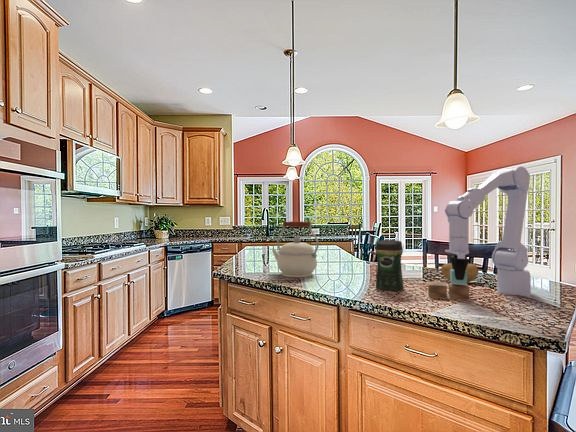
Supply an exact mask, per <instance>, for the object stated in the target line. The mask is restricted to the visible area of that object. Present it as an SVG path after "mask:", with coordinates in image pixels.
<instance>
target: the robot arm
mask: <svg viewBox="0 0 576 432" xmlns="http://www.w3.org/2000/svg"><path fill="white" fill-rule="evenodd" d="M530 179H531V175H530V173H529V171H528V170H527V169H526V167H524V166H517V167H510V168H505V169H503V168H502V169H496V170H494V171H493V172H491V173H490V175H489V177H488V178H487V179H485V181H484V182H483V183H481V184H480V185H479V186H478V187H470V188H467V190H466V192H465V193H464V194H462V195H460V196H458V197H457V199H456V200H451V201H449V202H448V204H447V205H446V206H445V209H444V213H445V215H446V217H447V222H448V225H449V226H448V246H449V247H448V249H445V253H448V254H453V255H448V259H449V260H450V263H451V264H452V268H453V269H454V272H455V278H456V280H463V279H464V276H465V271H466V267H467V265H468V264H470V261H471V259H470V258H468V256H467V255H469V254H470V250H469V243H470V242H469V238H470V237H469V236H470V235H469V233H470V232H469V230H470V229H469V228H470V227H469V220H470V219H469V218H470V217H472V216H473V213H474V210H476V208H477V207H478V206H479V205H481V204H482V203H484V202H485V201H486V196H487V195H488V194H490V193H491V192H493V191H494V190H496V189H498V190H500V192H502V193H503V194H505V195H506V196H507V197H508V198H507V199H508V200H507V205H506V211H505V212H506V213H505V220H504V227H503V233H502V240H501V241H499V242H497V243H496V244H495V246H494V249H493V251H492V255H491V261H492V263H493V265H495V268H497V282H496V283H497V287H496V288H497V292H498V293H499V294H503V295H508V296H509V295H510V296H521V297H529V298H531V297H532V296H531V295H532V294H531V293H532V292H531V287H532V286H531V285H532V284H531V273H530V271H529V270H528V269H525V268H527V266H528V264H529V257H528V256H529V255H528V247H526V245H524V244H523V243H522V241H521V240H522V234H523V233H522V232H523V228H524V219H525V214H526V205H527V199H528V192H529V188H530V182H531V181H530Z"/></svg>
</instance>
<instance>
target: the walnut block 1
mask: <svg viewBox="0 0 576 432" xmlns="http://www.w3.org/2000/svg"><path fill="white" fill-rule="evenodd" d="M427 293H428V296H429V297H428V298H430V297H436V298H435V299H444V298H447V296H448V285H447V284H446V282H439V281H438V282H437V281H436V282H435V281H428V282H427Z"/></svg>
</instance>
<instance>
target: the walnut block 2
mask: <svg viewBox="0 0 576 432" xmlns="http://www.w3.org/2000/svg"><path fill="white" fill-rule="evenodd" d="M448 295H449V297H450V299H449V300H457V299H463V300H462V301H470V300H469V298H470V287H469V285H468V283H467V284H452V283H451V282H450V283H448Z"/></svg>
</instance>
